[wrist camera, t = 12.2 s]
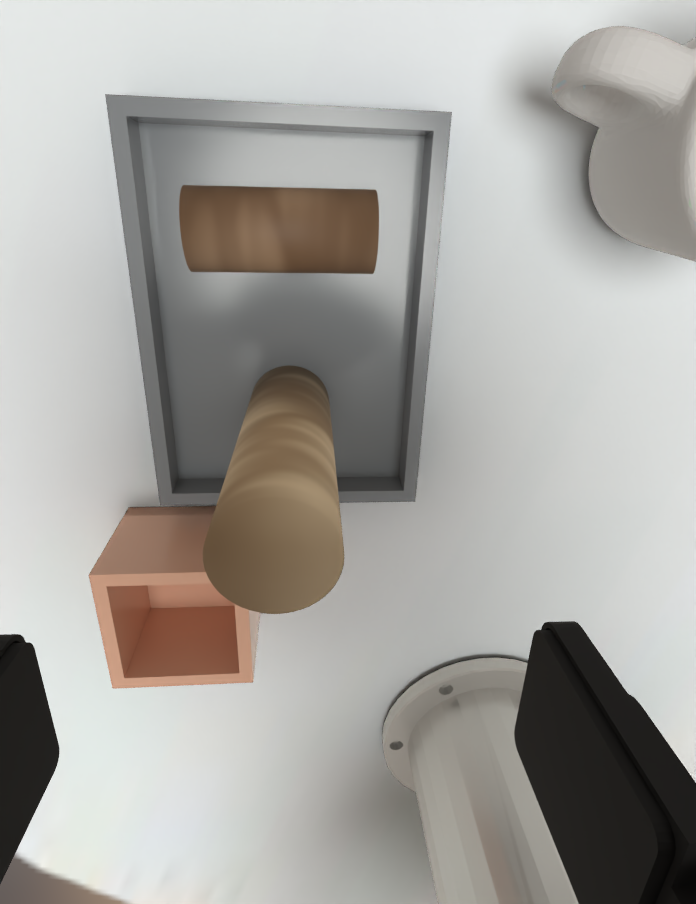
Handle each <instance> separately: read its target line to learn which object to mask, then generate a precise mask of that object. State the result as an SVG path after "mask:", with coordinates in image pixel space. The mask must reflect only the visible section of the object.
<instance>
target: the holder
mask: <svg viewBox="0 0 696 904" xmlns="http://www.w3.org/2000/svg"><path fill="white" fill-rule="evenodd" d="M215 508H216V506H196V507H130V508H128V510H127V511H126V513H125V515H124V516H123V518H122V520H121V521H120V523H119V525H118V527H117V528H116V530H115V532H114V533H113V535H112V537H111V538H110V540H109V542H108V543H107V545H106V547H105V549H104V550H103V552H102V554H101V555H100V557H99V559H98V560H97V562H96V564H95V565H94V567H93V569H92V571H91V572H90V574H89V578H90V583H91V588H92V593H93V597H94V602H95V607H96V612H97V616H98V621H99V626H100V631H101V635H102V640H103V645H104V650H105V654H106V659H107V664H108V669H109V673H110V678H111V683H112V688H135V687H158V686H180V685H203V684H225V683H248V682H253V679H254V669H255V659H256V649H257V640H258V630H259V620H260V613H259V612H255V611H251V610H248V609H245V608H242V607H240V606H238V605H236V604H234V603H232V602H231V601H229V600H227V599H226V598H225V597H224V596H222V595H221V594H220V593H219V592H218V591H217V590H216V589H215V587H214V586H213V585H212V583H211V582H210V580H209V578H208V576H207V574H206V571H205V568H204V564H203V547H204V542H205V539H206V536H207V533H208V530H209V527H210V524H211V520H212V517H213V514H214V511H215Z"/></svg>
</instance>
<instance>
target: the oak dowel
mask: <svg viewBox="0 0 696 904" xmlns="http://www.w3.org/2000/svg"><path fill="white" fill-rule="evenodd" d="M203 564H204V568H205V571H206V574H207V576H208V578H209V580H210V582H211V583H212V585H213V586H214V587H215V589H216V590H217V591H218V592H219V593H220V594H221V595H222V596H224V597H225V598H226V599H227V600H229V601H231V602H232V603H234V604H236V605H238V606H240V607H242V608H245V609H248V610H251V611H255V612H259V613H267V614H281V613H289V612H294V611H298V610H301V609H304V608H306V607H309V606H311V605H312V604H314V603H316V602H318V601H319V600H320V599H322V598H323V597H324V596H326V595H327V594H328V593H329V592H330V591H331V589H332V588H333V587H334V586H335V584H336V583H337V581H338V579H339V577H340V575H341V572H342V569H343V564H344V547H343V537H342V526H341V516H340V506H339V496H338V486H337V475H336V465H335V455H334V445H333V434H332V424H331V414H330V404H329V396H328V392H327V389H326V387H325V385H324V384H323V382H322V381H321V380H320V379H319V378H318V377H317V376H316V375H315V374H314V373H312V372H311V371H309V370H307V369H305V368H302V367H298V366H281V367H277V368H274V369H272V370H270V371H268V372H267V373H265V374H264V375H263V376H262V377H261V378H260V379H259V380H258V382H257V383H256V385H255V387H254V389H253V393H252V396H251V399H250V402H249V405H248V408H247V411H246V414H245V418H244V421H243V424H242V427H241V430H240V433H239V436H238V439H237V443H236V446H235V449H234V452H233V455H232V458H231V461H230V464H229V467H228V471H227V474H226V477H225V480H224V483H223V486H222V489H221V492H220V496H219V499H218V502H217V505H216V508H215V511H214V514H213V517H212V520H211V524H210V527H209V530H208V533H207V536H206V539H205V542H204V547H203Z"/></svg>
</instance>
